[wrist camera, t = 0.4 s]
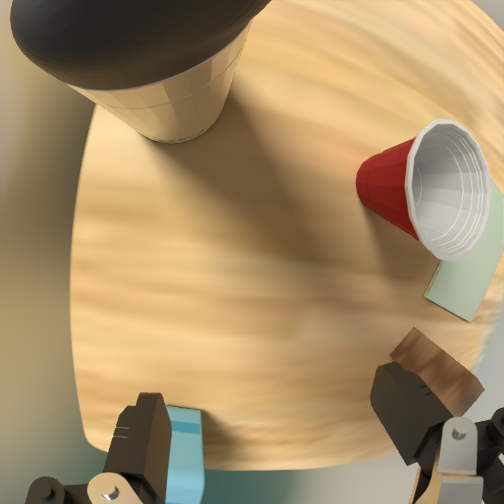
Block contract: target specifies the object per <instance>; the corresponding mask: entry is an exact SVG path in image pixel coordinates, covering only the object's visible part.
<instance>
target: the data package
mask: <svg viewBox="0 0 504 504" xmlns="http://www.w3.org/2000/svg"><path fill="white" fill-rule="evenodd" d="M166 408H167V411H168V414H169V417H170V420H171V426H172V438H171V447H170V457H169V467H168V478H167V489H166V502H165V504H200V503H201V499H202V496H203V492H204V487H205V468H204V453H203V437H202V417H201V411H200V410H195V409H187V408H179V407H172V406H166Z"/></svg>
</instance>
